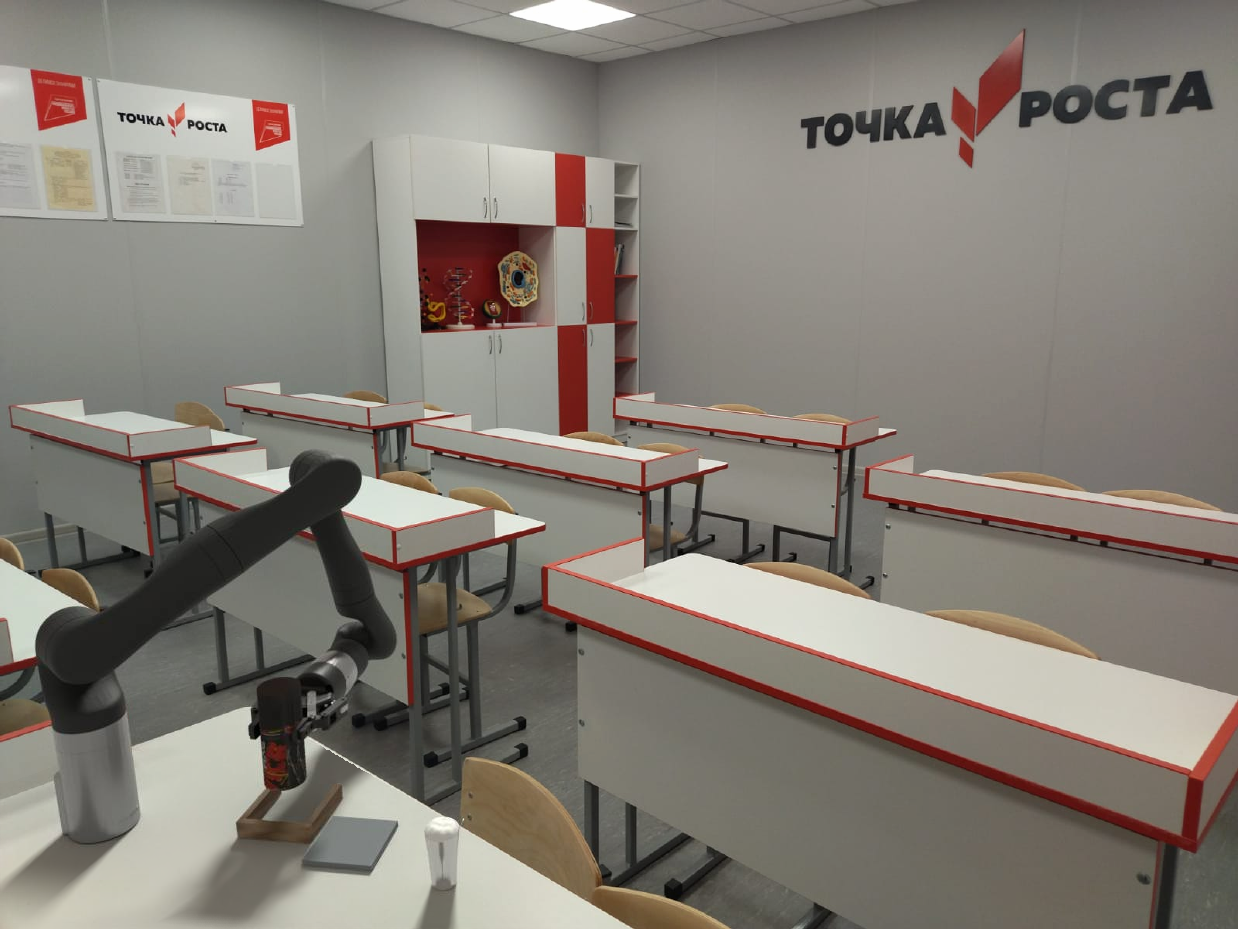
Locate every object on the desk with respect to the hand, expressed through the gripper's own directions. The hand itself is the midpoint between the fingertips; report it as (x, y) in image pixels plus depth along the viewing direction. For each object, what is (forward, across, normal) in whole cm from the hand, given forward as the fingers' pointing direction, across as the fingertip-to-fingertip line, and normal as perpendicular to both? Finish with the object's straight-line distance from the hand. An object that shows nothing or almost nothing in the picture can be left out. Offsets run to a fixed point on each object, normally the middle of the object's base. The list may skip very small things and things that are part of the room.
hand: (273, 735), depth 126 cm
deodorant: (-2, 0, +9) cm, 9 cm away
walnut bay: (-3, 0, +15) cm, 15 cm away
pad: (+2, +12, +15) cm, 19 cm away
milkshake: (+8, +28, +15) cm, 33 cm away
